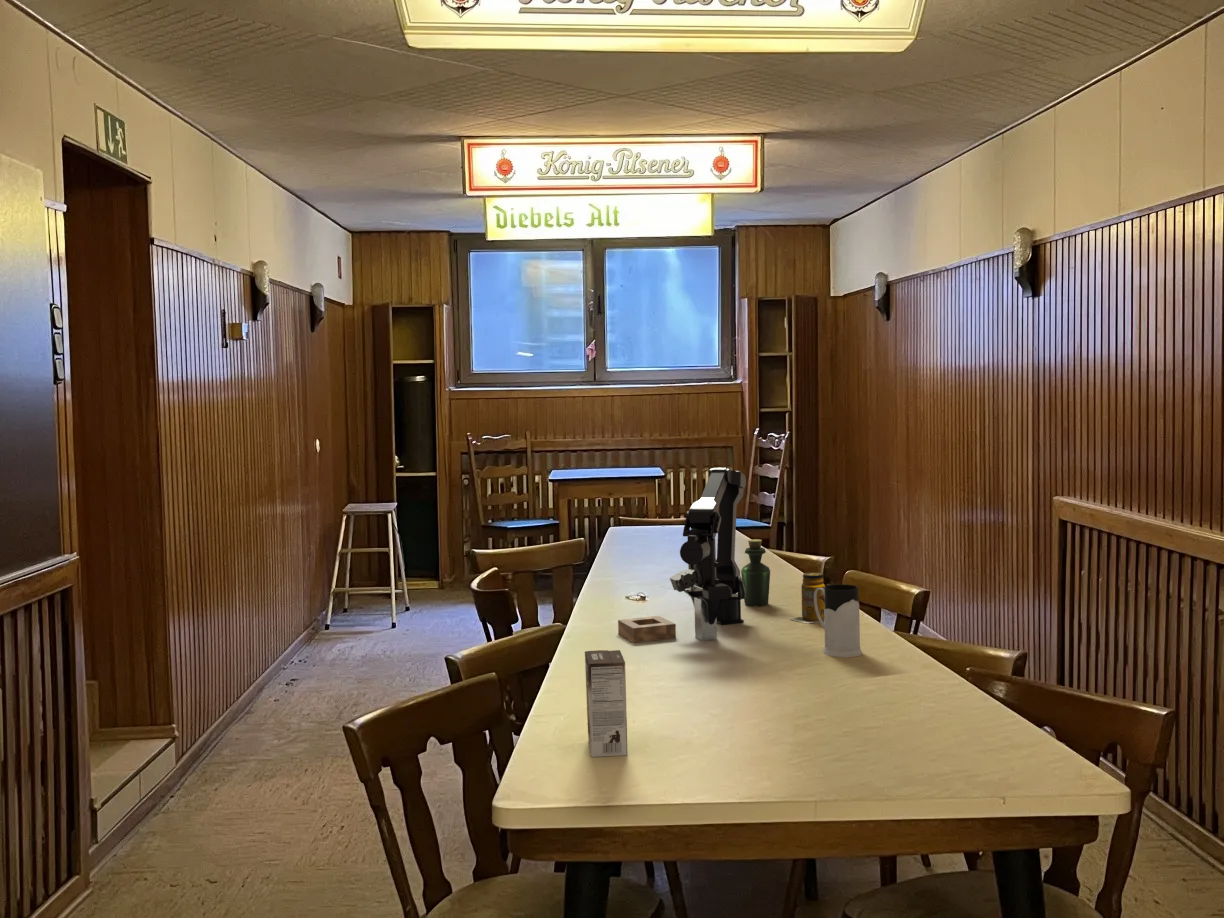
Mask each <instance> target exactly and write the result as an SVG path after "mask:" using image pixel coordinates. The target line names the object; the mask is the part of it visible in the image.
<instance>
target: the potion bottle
mask: <svg viewBox="0 0 1224 918" xmlns="http://www.w3.org/2000/svg"><path fill="white" fill-rule="evenodd" d="M747 541H748V546H749V547H747V548H745V550H744V554H746V555H748V559H749V563H747V564H745V565H744V566H743V567H742V568H741V569H740V576H741V578H742V581H743V584H744V587H745V596H746V598H745V599H743V601H744V602H743V603H744V604H745V605H746V606H749V607H765V606H767V605H768V604H769V601H770V600H769V599H770V596H769V595H770V580H771V569H770V567H769V566H767V565H766V564H764V563H762V562H761V561H762V558H763V555H764V554H765V553H767V551H766V549H765V548H764V547H761V546H762V543H763V539H756V538H755V539H747Z"/></svg>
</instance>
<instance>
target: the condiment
mask: <svg viewBox="0 0 1224 918" xmlns="http://www.w3.org/2000/svg"><path fill="white" fill-rule="evenodd" d="M824 582H825V581H824V574H823V573H821V572H804V573H803V575H802V583H801V616H798V617H791V618H789V620H791V621H795V622H798V623H804V624H813V623H820V621H819V619H818V617H817V614H816V611H815V606H814V592H815V590H816V589H817V588H823V589H824V590H825V586H826V585H825V583H824ZM817 606H818V610H819V614H820V617H821V619H822V621H823V622H824V609H825V598H824V594H823V592H822V591H821V590H820V589H819V590H818V591H817Z"/></svg>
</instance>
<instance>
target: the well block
mask: <svg viewBox="0 0 1224 918" xmlns="http://www.w3.org/2000/svg"><path fill="white" fill-rule="evenodd" d="M676 627H677V625H676V623H675V622H673V621H671V620H669V619H666V618H664V617H662V616H660V615H653V616H645V617H642V616H641V617H634V618H623V619H618V620H617V629H618V635H620V636H621V637H623V638H625V639H627V640H628V641H630V642H632V643H644V642H650V641H660V640H668V639H671V640H672V639H677V630H676Z"/></svg>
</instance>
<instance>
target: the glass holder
mask: <svg viewBox="0 0 1224 918" xmlns="http://www.w3.org/2000/svg"><path fill="white" fill-rule="evenodd" d="M819 589H820V590H821V591H822V592H823V594H824V598H825V609H824V621H822V619H821V617H820V614H819V610H818V606H817V591H818V590H819ZM814 606H815V611H816V614H817V617H818V619H819V621H820V622H819V623H820V625H821V626H822V628H823V629H824V647H823V651H822V653H823V654H824V655H825V656H829V657H833V658H834V657H835V658H852V657H857V656H858V657H859V656H861V655H863V651H862V649H861V638H860V637H861V631H860V628H861V627H860V625H861V624H860V619H861V618H860V602H859V586H857V585H853V584H852V585H851V584H838V583H837V584H831V585H830V584H829V585H825V590H824V589H823V588H817V589H816V590H815V592H814Z"/></svg>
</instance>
